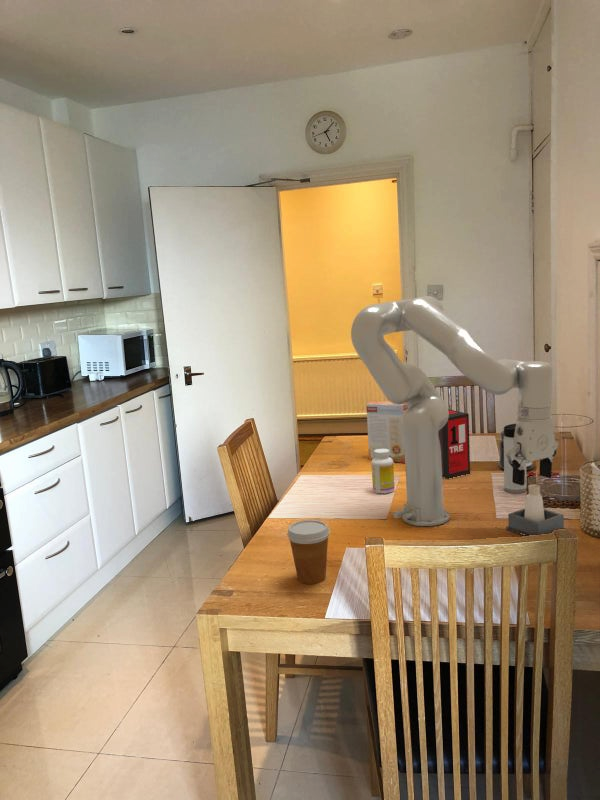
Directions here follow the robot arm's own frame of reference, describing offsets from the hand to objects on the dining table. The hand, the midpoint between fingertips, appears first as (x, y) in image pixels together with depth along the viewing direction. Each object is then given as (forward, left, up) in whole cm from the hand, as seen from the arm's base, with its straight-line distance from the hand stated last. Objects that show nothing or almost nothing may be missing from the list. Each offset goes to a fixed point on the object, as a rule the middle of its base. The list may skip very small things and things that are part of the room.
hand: (532, 480), depth 164 cm
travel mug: (+20, +23, -13) cm, 34 cm away
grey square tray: (0, -1, -13) cm, 13 cm away
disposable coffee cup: (-58, +12, -13) cm, 60 cm away
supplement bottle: (-9, +49, -13) cm, 52 cm away
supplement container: (+37, +38, -13) cm, 55 cm away
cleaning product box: (+18, +52, -13) cm, 57 cm away
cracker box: (+14, +75, -13) cm, 78 cm away
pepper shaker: (0, -1, -13) cm, 13 cm away
